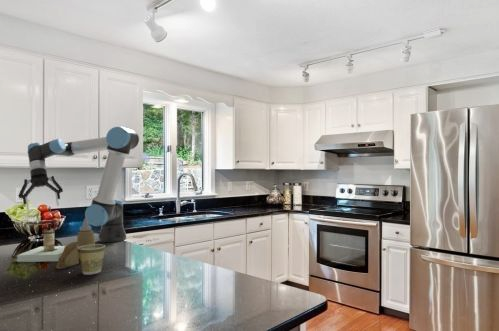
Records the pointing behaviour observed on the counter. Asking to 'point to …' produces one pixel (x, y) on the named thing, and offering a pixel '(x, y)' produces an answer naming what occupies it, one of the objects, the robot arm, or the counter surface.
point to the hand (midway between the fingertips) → (43, 207)
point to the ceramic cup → (91, 258)
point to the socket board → (41, 255)
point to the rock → (69, 256)
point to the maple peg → (49, 241)
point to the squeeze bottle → (85, 235)
